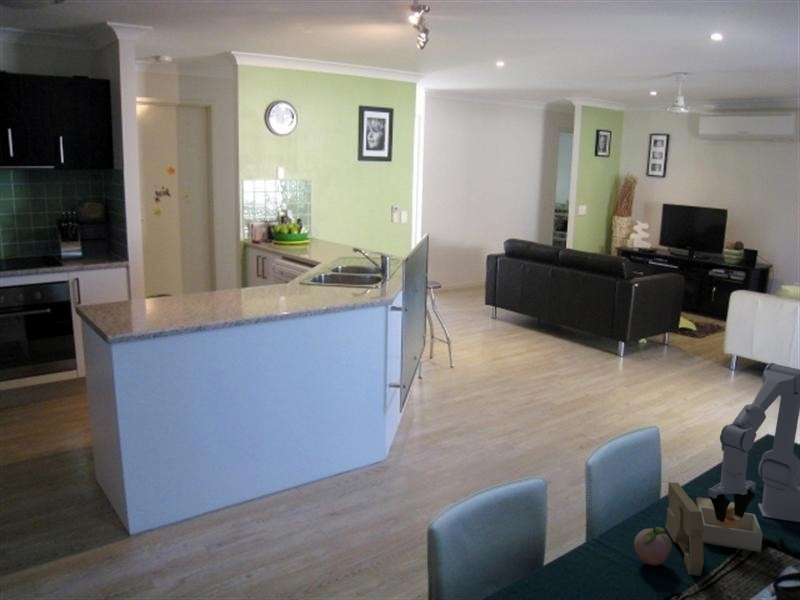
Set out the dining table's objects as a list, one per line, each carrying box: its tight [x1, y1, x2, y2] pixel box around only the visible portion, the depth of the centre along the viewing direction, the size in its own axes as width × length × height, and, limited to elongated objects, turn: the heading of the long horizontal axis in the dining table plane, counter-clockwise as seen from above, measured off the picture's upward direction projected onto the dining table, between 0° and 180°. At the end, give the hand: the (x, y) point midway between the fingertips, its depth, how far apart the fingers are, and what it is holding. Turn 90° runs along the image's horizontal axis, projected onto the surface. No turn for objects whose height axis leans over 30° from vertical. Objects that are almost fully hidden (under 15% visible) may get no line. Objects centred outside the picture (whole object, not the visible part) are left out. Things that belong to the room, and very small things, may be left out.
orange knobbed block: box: [716, 506, 740, 529], centre depth 175 cm, size 4×4×8 cm
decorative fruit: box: [633, 526, 673, 567], centre depth 162 cm, size 9×8×10 cm
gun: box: [664, 481, 704, 576], centre depth 168 cm, size 24×3×15 cm, turn 171°
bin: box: [698, 506, 764, 553], centre depth 175 cm, size 14×11×5 cm
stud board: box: [695, 496, 734, 508], centre depth 188 cm, size 12×12×5 cm
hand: (729, 518), depth 175 cm, fingers open, 6 cm apart
